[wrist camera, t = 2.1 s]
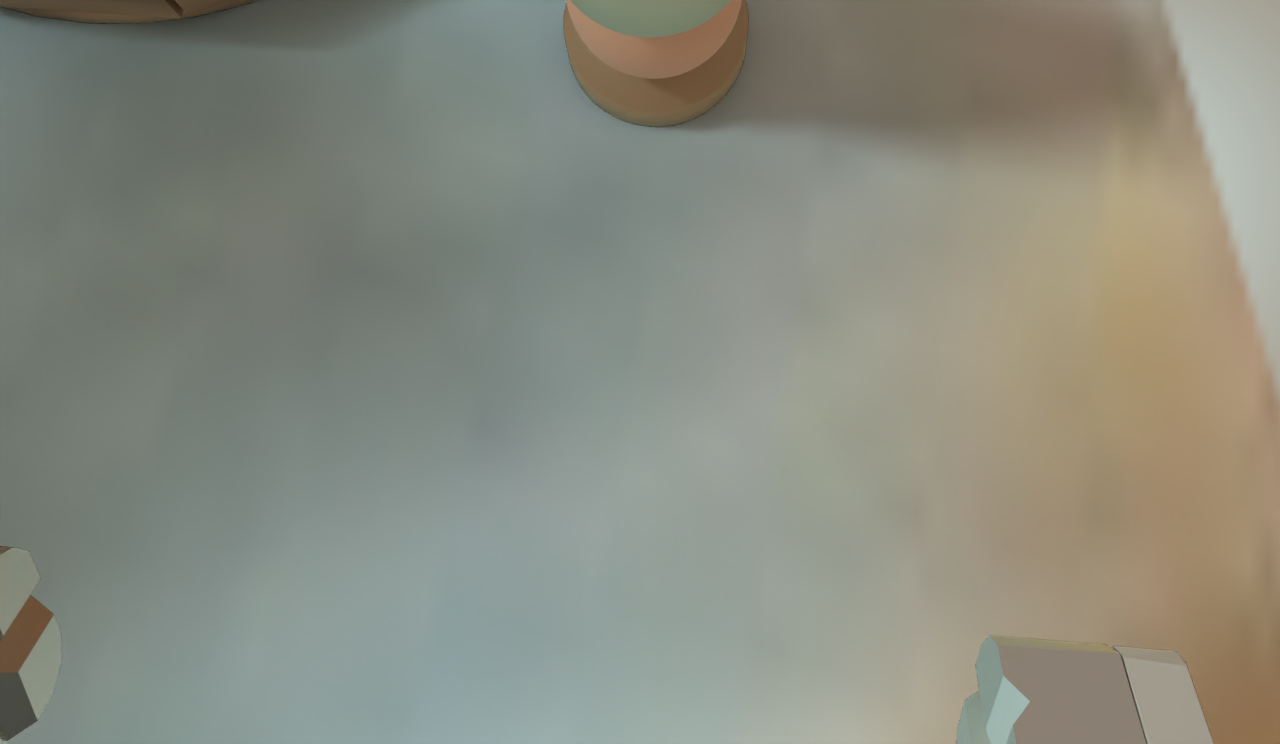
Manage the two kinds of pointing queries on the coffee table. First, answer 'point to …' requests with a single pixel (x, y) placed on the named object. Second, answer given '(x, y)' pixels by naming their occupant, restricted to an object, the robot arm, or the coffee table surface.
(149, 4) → the walnut tray
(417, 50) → the coffee table surface
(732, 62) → the bead column
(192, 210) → the coffee table surface
